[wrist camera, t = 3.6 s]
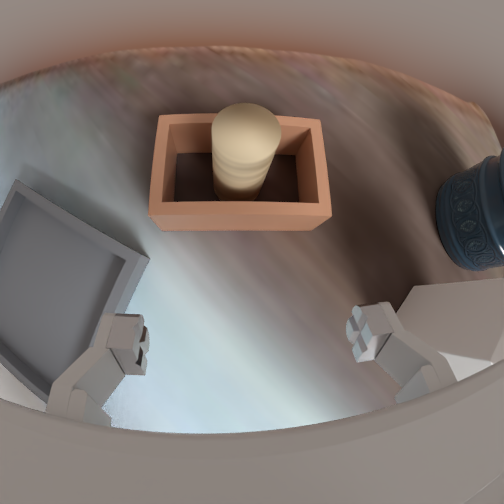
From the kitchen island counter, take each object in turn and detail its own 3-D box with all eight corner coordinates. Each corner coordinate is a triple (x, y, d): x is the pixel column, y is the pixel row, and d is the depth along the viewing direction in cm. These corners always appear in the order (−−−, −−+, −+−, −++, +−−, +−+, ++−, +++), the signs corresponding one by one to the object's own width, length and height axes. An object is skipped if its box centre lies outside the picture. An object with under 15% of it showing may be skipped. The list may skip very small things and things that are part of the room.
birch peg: (247, 215, 27) (263, 171, 17) (205, 194, 26) (198, 141, 17) (267, 176, 27) (291, 120, 18) (227, 156, 27) (231, 94, 17)
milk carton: (377, 337, 26) (537, 368, 8) (413, 285, 28) (564, 267, 9) (412, 372, 26) (548, 412, 8) (443, 323, 28) (577, 328, 9)
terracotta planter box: (310, 230, 27) (331, 216, 22) (162, 231, 26) (148, 215, 20) (303, 147, 28) (320, 119, 23) (168, 145, 27) (159, 115, 21)
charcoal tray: (86, 413, 22) (74, 423, 19) (-20, 322, 21) (-35, 323, 18) (149, 259, 25) (141, 254, 22) (29, 187, 24) (15, 179, 21)
